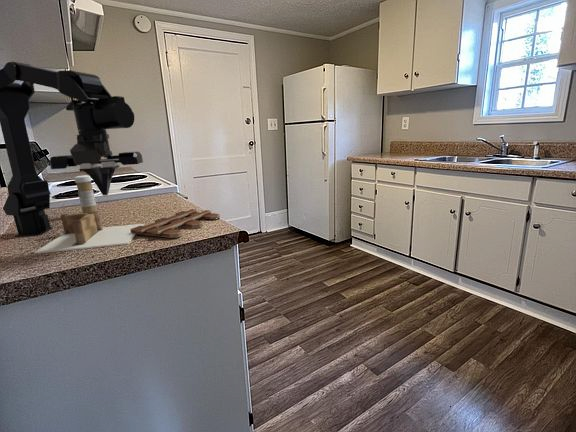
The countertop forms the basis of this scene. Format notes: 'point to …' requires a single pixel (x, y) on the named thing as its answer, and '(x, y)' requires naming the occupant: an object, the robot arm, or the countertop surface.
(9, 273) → the countertop surface
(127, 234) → the card
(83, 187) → the sprinkles bottle
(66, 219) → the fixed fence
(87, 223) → the gate panel
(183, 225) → the decorative fence
